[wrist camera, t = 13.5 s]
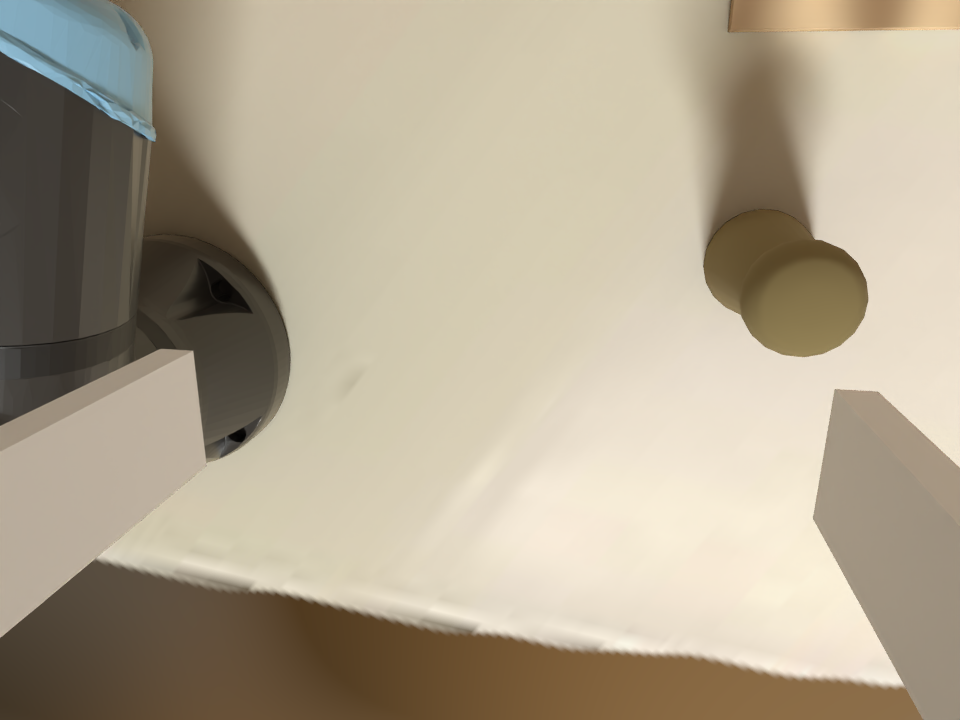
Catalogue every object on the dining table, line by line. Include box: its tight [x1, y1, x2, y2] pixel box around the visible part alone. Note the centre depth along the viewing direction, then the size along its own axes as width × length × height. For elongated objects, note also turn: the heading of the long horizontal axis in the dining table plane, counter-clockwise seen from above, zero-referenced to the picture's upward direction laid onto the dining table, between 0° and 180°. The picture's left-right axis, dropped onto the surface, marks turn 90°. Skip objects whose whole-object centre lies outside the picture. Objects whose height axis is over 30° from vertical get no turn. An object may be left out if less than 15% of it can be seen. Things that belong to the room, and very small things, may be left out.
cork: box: [703, 209, 868, 357], centre depth 35 cm, size 6×6×11 cm
